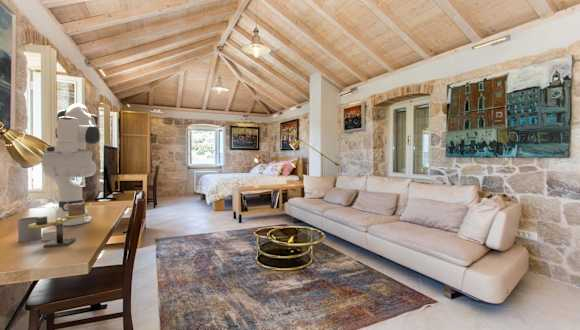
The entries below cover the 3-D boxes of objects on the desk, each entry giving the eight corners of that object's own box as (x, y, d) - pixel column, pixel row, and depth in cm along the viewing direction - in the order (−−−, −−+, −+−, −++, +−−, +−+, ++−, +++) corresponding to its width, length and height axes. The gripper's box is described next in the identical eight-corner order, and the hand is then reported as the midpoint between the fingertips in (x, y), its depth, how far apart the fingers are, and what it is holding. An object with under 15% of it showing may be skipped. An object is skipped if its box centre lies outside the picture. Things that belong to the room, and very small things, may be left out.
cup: (27, 241, 133) (26, 221, 133) (13, 240, 134) (13, 220, 134) (45, 236, 141) (45, 217, 141) (32, 235, 143) (32, 216, 142)
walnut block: (72, 213, 134) (72, 203, 134) (84, 213, 136) (84, 202, 136) (68, 215, 129) (68, 205, 129) (81, 215, 131) (81, 204, 131)
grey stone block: (43, 238, 138) (43, 230, 138) (56, 237, 142) (56, 229, 141) (42, 241, 135) (42, 233, 134) (56, 239, 138) (55, 231, 138)
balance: (34, 243, 131) (34, 214, 130) (91, 238, 139) (91, 212, 138) (24, 249, 122) (23, 218, 122) (85, 244, 130) (84, 215, 130)
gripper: (94, 149, 146) (94, 175, 146) (46, 148, 139) (46, 176, 139) (90, 149, 140) (90, 176, 141) (40, 148, 133) (40, 176, 133)
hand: (68, 176), depth 140 cm, fingers open, 8 cm apart
